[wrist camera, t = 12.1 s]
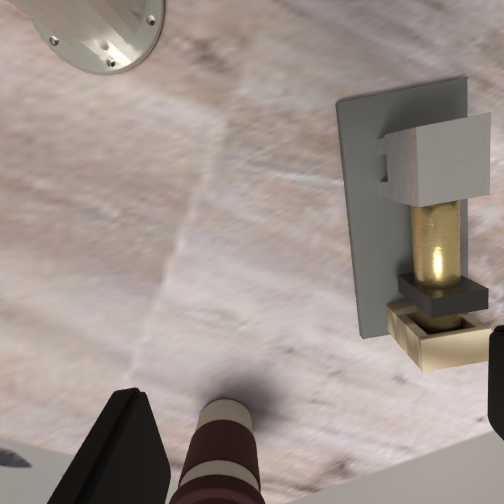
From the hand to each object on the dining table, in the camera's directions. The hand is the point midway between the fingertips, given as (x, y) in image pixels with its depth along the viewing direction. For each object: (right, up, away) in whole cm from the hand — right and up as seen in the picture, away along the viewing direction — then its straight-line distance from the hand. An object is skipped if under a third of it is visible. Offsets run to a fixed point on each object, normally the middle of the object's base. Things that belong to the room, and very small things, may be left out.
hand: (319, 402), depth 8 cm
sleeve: (+15, +14, +26) cm, 33 cm away
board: (+16, +8, +27) cm, 33 cm away
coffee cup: (-5, -19, +35) cm, 40 cm away
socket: (+18, -3, +30) cm, 35 cm away
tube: (+16, +4, +25) cm, 31 cm away
